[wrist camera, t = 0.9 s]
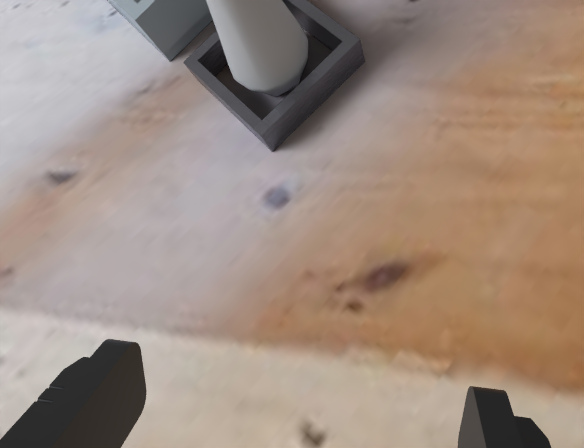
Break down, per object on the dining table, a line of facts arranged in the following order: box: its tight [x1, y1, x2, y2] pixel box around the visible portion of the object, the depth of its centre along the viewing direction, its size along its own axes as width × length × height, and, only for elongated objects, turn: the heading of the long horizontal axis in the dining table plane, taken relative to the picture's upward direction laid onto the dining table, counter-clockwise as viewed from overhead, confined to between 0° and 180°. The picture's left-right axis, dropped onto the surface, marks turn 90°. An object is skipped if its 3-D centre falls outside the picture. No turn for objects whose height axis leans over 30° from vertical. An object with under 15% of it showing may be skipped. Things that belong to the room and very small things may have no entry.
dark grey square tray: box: [183, 0, 365, 152], centre depth 35 cm, size 9×9×2 cm
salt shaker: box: [206, 0, 308, 97], centre depth 30 cm, size 6×6×13 cm
